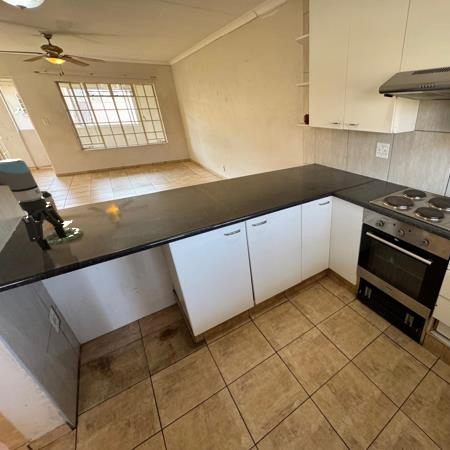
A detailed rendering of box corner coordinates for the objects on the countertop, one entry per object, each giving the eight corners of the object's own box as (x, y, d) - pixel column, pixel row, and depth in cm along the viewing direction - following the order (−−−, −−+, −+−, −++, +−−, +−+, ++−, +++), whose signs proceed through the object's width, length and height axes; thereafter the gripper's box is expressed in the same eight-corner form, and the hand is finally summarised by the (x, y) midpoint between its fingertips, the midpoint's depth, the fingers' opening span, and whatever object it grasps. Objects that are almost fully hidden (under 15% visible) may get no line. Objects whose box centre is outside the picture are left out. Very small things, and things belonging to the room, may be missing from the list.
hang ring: (35, 250, 106) (32, 244, 105) (56, 234, 118) (53, 228, 117) (72, 246, 109) (69, 240, 108) (89, 231, 121) (86, 225, 120)
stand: (41, 233, 119) (27, 208, 113) (53, 225, 127) (41, 200, 121) (63, 231, 121) (50, 206, 115) (73, 223, 129) (62, 199, 122)
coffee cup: (39, 223, 128) (24, 197, 121) (40, 218, 135) (26, 192, 128) (62, 218, 133) (48, 192, 126) (62, 213, 140) (50, 188, 133)
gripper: (20, 209, 90) (49, 259, 100) (59, 189, 109) (80, 232, 119) (-5, 211, 88) (27, 261, 98) (39, 190, 108) (63, 234, 118)
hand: (56, 245), depth 109 cm, fingers open, 10 cm apart
